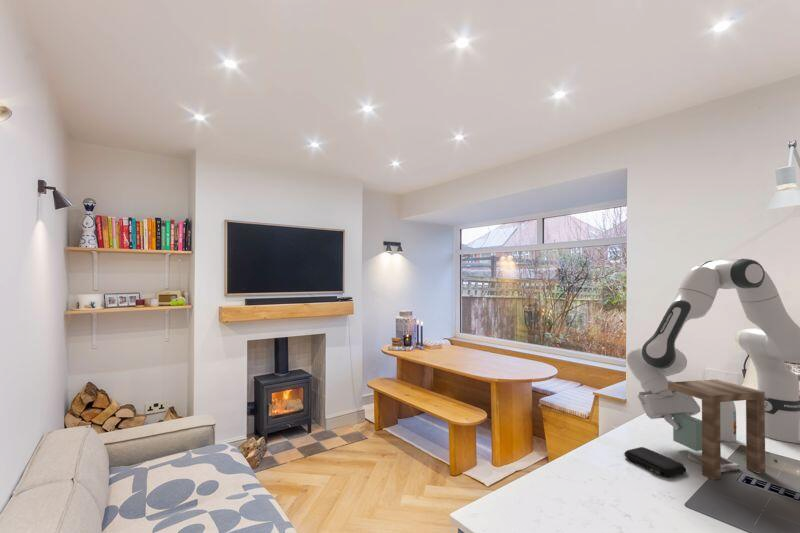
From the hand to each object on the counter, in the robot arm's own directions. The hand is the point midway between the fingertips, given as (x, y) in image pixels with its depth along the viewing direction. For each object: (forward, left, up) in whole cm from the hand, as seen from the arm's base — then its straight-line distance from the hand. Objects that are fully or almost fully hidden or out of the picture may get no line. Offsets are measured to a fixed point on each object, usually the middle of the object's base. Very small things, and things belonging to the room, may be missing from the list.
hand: (685, 428), depth 128 cm
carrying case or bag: (+20, +6, -8) cm, 22 cm away
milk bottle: (-23, -5, -8) cm, 25 cm away
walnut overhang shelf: (0, +10, -7) cm, 12 cm away
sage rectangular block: (0, +1, -5) cm, 5 cm away
